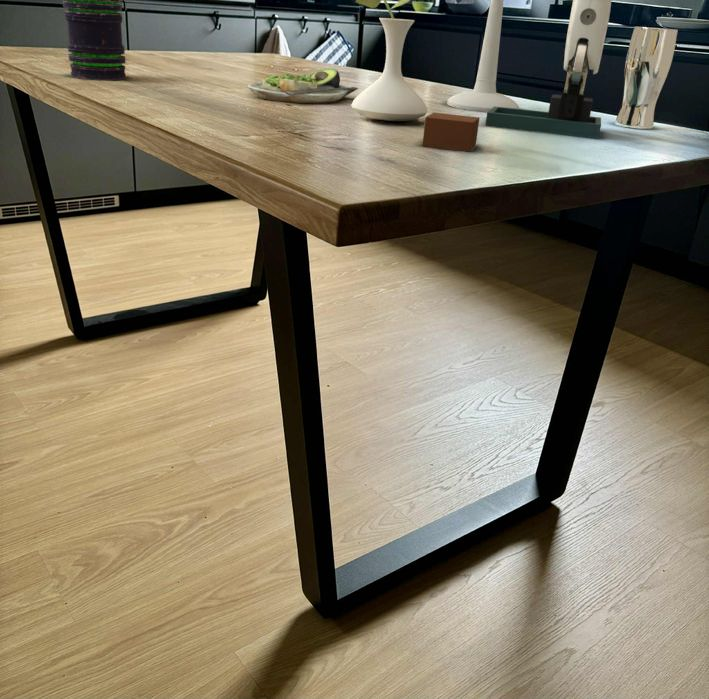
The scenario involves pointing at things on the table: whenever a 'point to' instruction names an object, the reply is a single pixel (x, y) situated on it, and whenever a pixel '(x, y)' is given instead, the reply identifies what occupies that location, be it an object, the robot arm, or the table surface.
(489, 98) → the candlestick
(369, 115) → the flower in vase
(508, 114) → the frame
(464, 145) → the pad
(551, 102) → the pad
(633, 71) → the beer glass
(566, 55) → the robot arm
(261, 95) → the salad plate
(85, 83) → the table surface
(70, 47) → the storage jar
